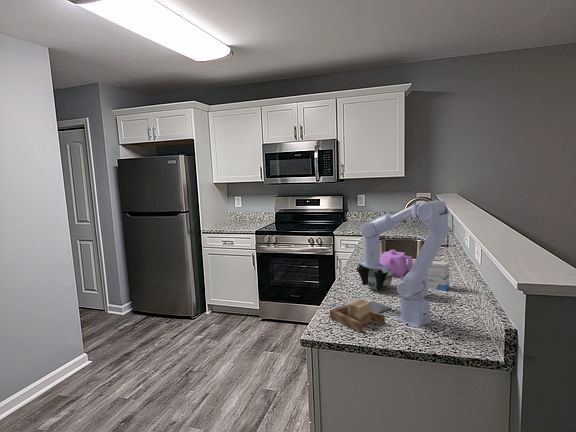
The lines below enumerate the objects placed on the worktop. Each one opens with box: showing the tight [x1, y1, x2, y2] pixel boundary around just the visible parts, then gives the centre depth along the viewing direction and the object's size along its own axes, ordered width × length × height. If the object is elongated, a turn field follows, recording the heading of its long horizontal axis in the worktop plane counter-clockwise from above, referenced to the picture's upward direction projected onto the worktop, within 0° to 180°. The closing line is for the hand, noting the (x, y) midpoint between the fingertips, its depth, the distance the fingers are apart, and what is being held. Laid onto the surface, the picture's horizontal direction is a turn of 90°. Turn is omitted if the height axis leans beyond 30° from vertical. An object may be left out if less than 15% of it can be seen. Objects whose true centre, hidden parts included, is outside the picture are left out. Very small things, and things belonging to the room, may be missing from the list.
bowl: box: [367, 269, 394, 292], centre depth 163 cm, size 14×13×8 cm
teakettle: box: [379, 249, 414, 277], centre depth 187 cm, size 17×17×12 cm
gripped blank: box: [346, 298, 372, 326], centre depth 128 cm, size 5×7×7 cm
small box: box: [422, 272, 429, 299], centre depth 152 cm, size 8×6×10 cm
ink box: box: [428, 260, 450, 292], centre depth 161 cm, size 9×5×12 cm, turn 47°
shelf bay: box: [329, 304, 386, 333], centre depth 130 cm, size 16×12×3 cm
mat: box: [369, 300, 392, 314], centre depth 141 cm, size 10×10×1 cm
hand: (372, 287), depth 140 cm, fingers open, 7 cm apart
